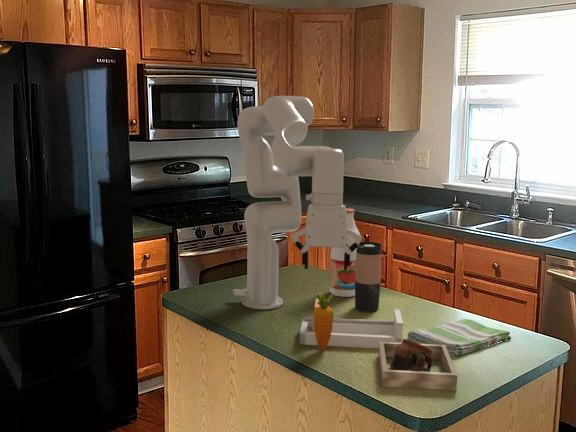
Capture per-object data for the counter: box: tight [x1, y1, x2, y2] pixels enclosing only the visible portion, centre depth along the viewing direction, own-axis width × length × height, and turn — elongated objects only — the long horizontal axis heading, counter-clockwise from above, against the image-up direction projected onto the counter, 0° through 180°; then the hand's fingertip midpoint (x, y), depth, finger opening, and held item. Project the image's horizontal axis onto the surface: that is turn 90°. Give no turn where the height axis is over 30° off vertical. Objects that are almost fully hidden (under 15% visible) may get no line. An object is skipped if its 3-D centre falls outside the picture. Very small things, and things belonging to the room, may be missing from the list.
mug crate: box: [378, 342, 458, 391], centre depth 149 cm, size 16×18×4 cm
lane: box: [299, 309, 404, 349], centre depth 169 cm, size 26×11×7 cm, turn 85°
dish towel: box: [407, 318, 512, 357], centre depth 171 cm, size 17×23×4 cm
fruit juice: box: [329, 207, 361, 298], centre depth 208 cm, size 9×9×28 cm
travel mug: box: [354, 241, 383, 313], centre depth 194 cm, size 8×8×20 cm
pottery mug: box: [389, 338, 433, 372], centre depth 149 cm, size 12×10×8 cm
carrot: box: [313, 292, 334, 352], centre depth 160 cm, size 5×5×15 cm
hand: (325, 268), depth 158 cm, fingers open, 9 cm apart
